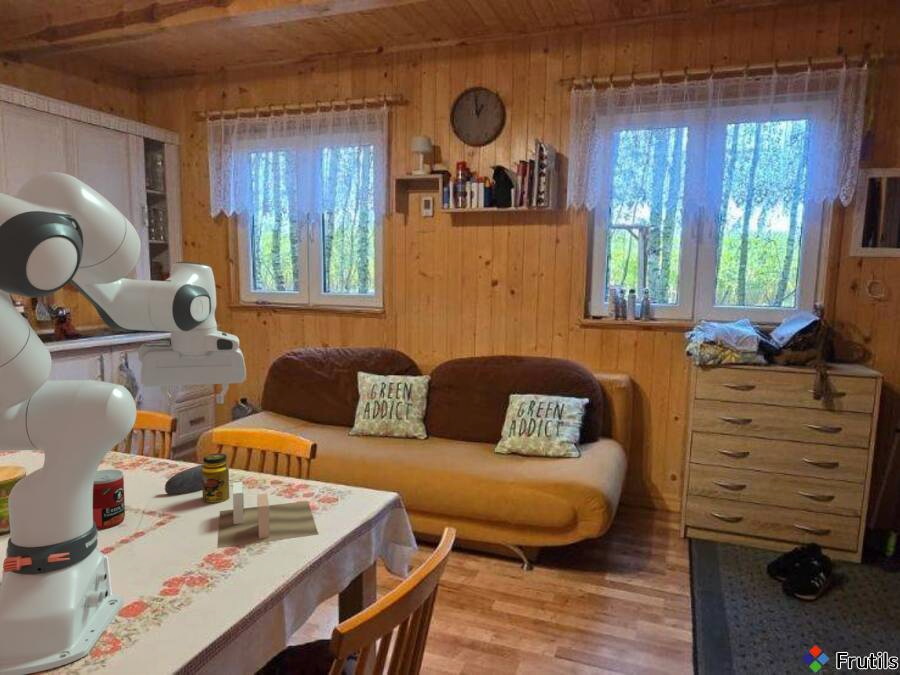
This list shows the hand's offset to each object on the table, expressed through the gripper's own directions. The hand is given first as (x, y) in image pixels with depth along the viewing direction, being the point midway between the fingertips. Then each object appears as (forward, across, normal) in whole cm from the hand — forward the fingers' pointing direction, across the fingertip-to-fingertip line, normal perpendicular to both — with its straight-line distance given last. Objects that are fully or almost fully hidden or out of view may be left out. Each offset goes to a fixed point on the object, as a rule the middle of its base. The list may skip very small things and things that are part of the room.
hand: (196, 404), depth 122 cm
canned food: (+30, -20, +10) cm, 37 cm away
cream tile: (+27, +8, +1) cm, 28 cm away
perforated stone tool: (+30, -2, +23) cm, 38 cm away
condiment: (+30, +3, +15) cm, 33 cm away
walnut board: (+28, +14, -4) cm, 32 cm away
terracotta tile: (+27, +13, -8) cm, 31 cm away
